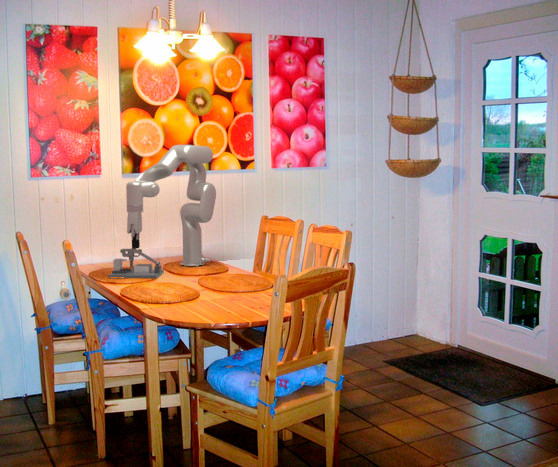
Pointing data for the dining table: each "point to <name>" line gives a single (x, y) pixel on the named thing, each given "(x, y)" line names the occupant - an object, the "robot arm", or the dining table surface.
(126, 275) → the socket board
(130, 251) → the mechanical component
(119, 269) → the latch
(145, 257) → the silver metal bar
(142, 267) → the heatsink
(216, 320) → the dining table surface
